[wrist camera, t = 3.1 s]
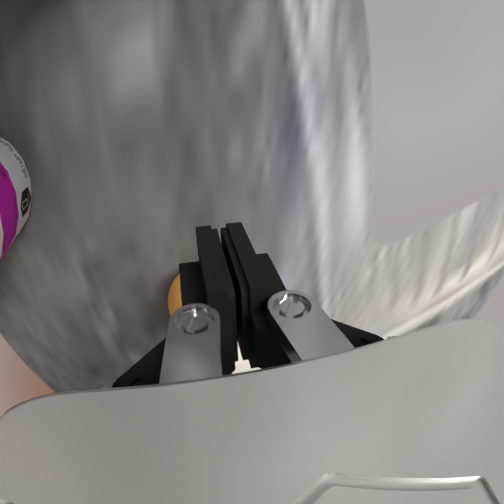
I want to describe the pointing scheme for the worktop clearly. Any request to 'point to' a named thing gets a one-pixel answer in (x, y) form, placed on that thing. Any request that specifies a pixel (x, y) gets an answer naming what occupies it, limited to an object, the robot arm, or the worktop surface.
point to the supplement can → (12, 195)
